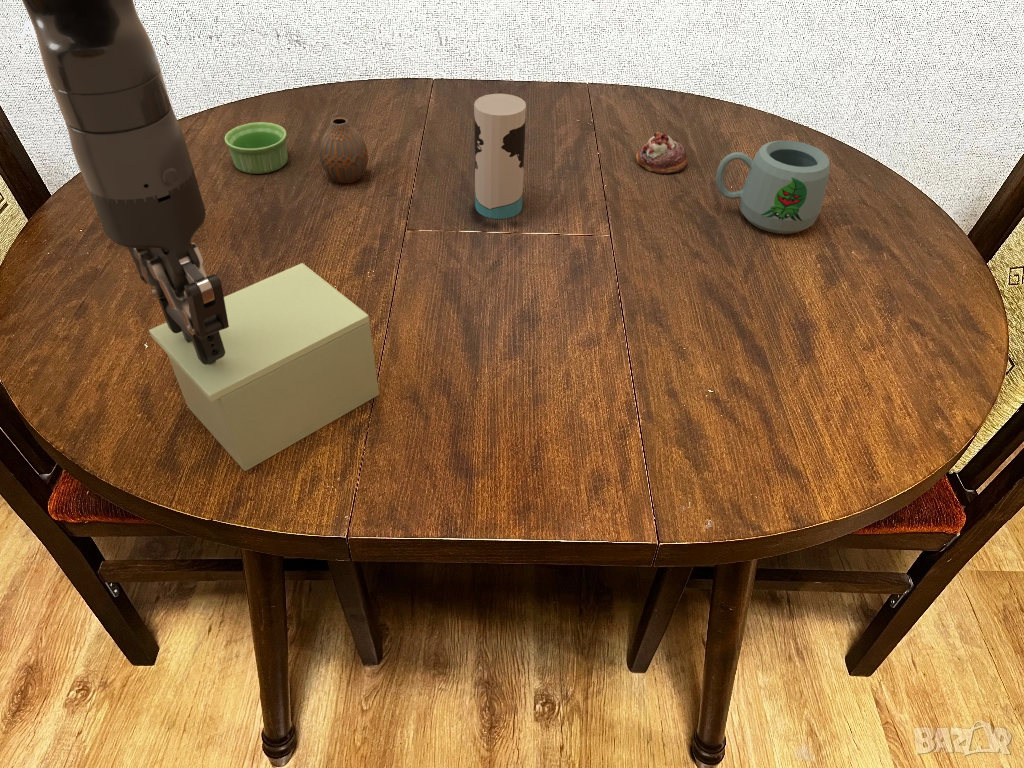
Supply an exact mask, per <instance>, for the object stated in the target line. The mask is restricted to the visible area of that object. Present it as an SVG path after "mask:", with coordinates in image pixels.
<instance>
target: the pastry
mask: <svg viewBox="0 0 1024 768" xmlns="http://www.w3.org/2000/svg"><path fill="white" fill-rule="evenodd" d="M635 158H636V162H637V165H639V166H641V167H642V168H644V169H645V170H647V171H649V172H652V173H657V174H666V175H667V174H673V173H679V172H681V171H684V169H685V167H686V166H687V163H688V161H689V159H688V155H687V151H686V147H685V146H684V145H683V144H682V143H680V142H678V141H675V140H673V139H672V137H670V135H668V134H666V133H665V132H661V131H655V132H654V134H653V136H651V137H650V138H649V139H648V141H647V142H646V143H645V144H643V145H642V146H641V147H640V149H639V150H638V151H637V153H636V154H635Z"/></svg>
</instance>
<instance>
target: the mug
mask: <svg viewBox="0 0 1024 768" xmlns="http://www.w3.org/2000/svg"><path fill="white" fill-rule="evenodd" d="M735 160H740V161H741V162H743V163H744V164H745V165H746V167H747V168H748V169H749V171H748V173H747V176H746V177H745V178H746V179H745V181H744V183H743V187H742V189H740V190H736V191H731V190H728V189H727V188H726V185H725V180H724V178H725V172H726V169H727V167H728V165H729V164H730V163H731V162H732V161H735ZM830 172H831V162H830V158H829V156H828V155H827V154H826V153H825V152H824V151H823V150H821V149H820V148H818V147H816V146H813V145H811V144H808V143H805V142H802V141H797V140H783V139H782V140H774V141H769V142H767V143H765V144H763V145H762V146H760V148H759V149H758V151H757V152H756V154H755V155H754V158H753V159H752V158H751V157H750V156H749V155H748V154H746V153H745V152H741V151H735V152H731V153H729V154H728V155H726V156H724V157H723V158H722V159H721V161H720V162H719V164H718V167H717V170H716V174H715V184H716V188H717V190H718V192H719V193H720V194H721V196H722V197H724V198H726V199H729V200H735V199H739V209H740V212H741V214H742V215H743V216H744V217H745V218H746V220H747V221H748V222H749V223H750V224H751V225H753V226H755V227H756V228H758V229H760V230H762V231H766V232H769V233H773V234H780V235H781V234H783V235H788V234H795V233H799V232H802V231H804V230H806V229H808V228H810V227H812V226H813V225H814V224H815V222H816V221H817V219H818V217H819V215H820V213H821V211H822V209H823V204H824V199H825V194H826V190H827V186H828V182H829V177H830Z"/></svg>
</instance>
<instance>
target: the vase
mask: <svg viewBox="0 0 1024 768" xmlns="http://www.w3.org/2000/svg"><path fill="white" fill-rule="evenodd" d="M319 160H320V162H321V166H322V169H323V171H324V172H325V173H326V175H327V176H328V177H329V178H331V180H333V181H335V182H337V183H339V184H352V183H355V182H357V181H359V179H361V178H362V177H363V176H364V174H365V173H366V171H367V169H368V165H369V164H368V162H369V152H368V148H367V144H366V142H365V140H364V138H363V136H362V134H361V133H359V131H358V130H356V128H355V127H353V126H352V125H351V123H350V121H349V120H348V118H346V117H343V116H340V117H339V116H338V117H334V118H332V119H331V120H330V122H329V126H328V128H327V130H326V131H325V132H324V134H323V136H322V138H321V140H320V143H319Z"/></svg>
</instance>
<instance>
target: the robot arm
mask: <svg viewBox="0 0 1024 768" xmlns="http://www.w3.org/2000/svg"><path fill="white" fill-rule="evenodd" d="M21 1H22V4H23V6H24V8H25V10H26V12H27V15H28V17H29V19H30V21H31V24H32V26H33V29H34V32H35V35H36V39H37V40H36V41H37V43H38V48H39V53H40V56H41V61H42V63H43V67H44V70H45V73H46V76H47V78H48V82H49V84H50V87H51V89H52V93H53V94H54V97H55V99H56V103H57V104H58V105H57V106H58V108H59V110H60V112H61V115H62V117H63V120H64V122H65V125H66V128H67V132H68V136H69V141H70V144H71V149H72V153H73V155H74V158H75V161H76V163H77V166H78V168H79V170H80V173H81V176H82V179H83V181H84V183H85V185H86V188H87V190H88V193H89V197H90V199H91V201H92V203H93V205H94V208H95V210H96V211H95V212H96V213H97V216H98V218H99V220H100V223H101V226H102V228H103V230H104V233H105V235H106V236H107V237H108V238H109V239H110V241H113V242H114V243H116V244H118V245H120V246H122V247H125V248H127V249H128V251H129V253H130V256H131V258H132V260H133V262H134V264H135V267H136V269H137V271H138V274H139V278H140V280H141V281H142V282H143V283H144V284H146V285H147V284H148V286H150V292H151V295H152V296H154V297H155V299H156V300H158V303H159V305H160V308H161V311H162V314H163V315H164V319H165V321H166V322H167V324H168V327H169V329H170V330H171V331H172V332H173V333H179V332H181V331H182V330H181V327H180V326H179V325H178V324H177V323H176V322H175V321H174V320H173V319H172V318H171V317H170V316H169V315H168V314H167V312H166V305H167V303H169V305H170V306H171V308H173V309H175V310H177V311H180V313H181V315H182V318H183V320H184V322H185V324H186V328H187V330H188V331H189V333H190V336H191V339H192V342H193V345H194V348H195V351H196V354H197V356H198V359H199V360H200V361H201V362H202V363H203V364H205V365H207V364H209V363H212V362H214V361H216V360H218V359H220V358H222V357H223V356H224V355H225V349H224V346H223V343H222V339H221V336H220V333H219V331H220V330H222V329H226V328H228V327H229V324H228V318H227V313H226V307H225V301H224V297H225V295H224V289H223V285H222V280H221V278H220V277H219V276H218V275H217V274H216V273H212V274H209V275H207V272H206V270H205V268H204V257H203V255H202V253H201V251H200V249H199V247H198V245H197V244H196V243H195V242H192V239H193V237H194V236H195V234H196V233H197V232H198V231H199V230H200V229H201V227H202V226H203V224H204V222H205V220H206V214H207V213H206V212H207V211H206V208H205V204H204V201H203V198H202V195H201V190H200V187H199V184H198V180H197V177H196V173H195V168H194V166H193V162H192V159H191V155H190V152H189V148H188V146H187V142H186V138H185V136H184V132H183V130H182V128H181V124H180V122H179V121H178V118H177V116H176V113H175V111H174V109H173V106H172V103H171V100H170V96H169V93H168V90H167V86H166V83H165V80H164V75H163V73H162V69H161V66H160V62H159V58H158V55H157V53H156V50H155V47H154V45H153V42H152V40H151V38H150V36H149V34H148V32H147V30H146V29H145V27H144V25H143V23H142V21H141V19H140V17H139V15H138V12H137V9H136V7H135V2H134V0H21ZM177 297H180V298H177ZM189 309H190V311H189ZM166 322H165V323H166Z"/></svg>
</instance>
